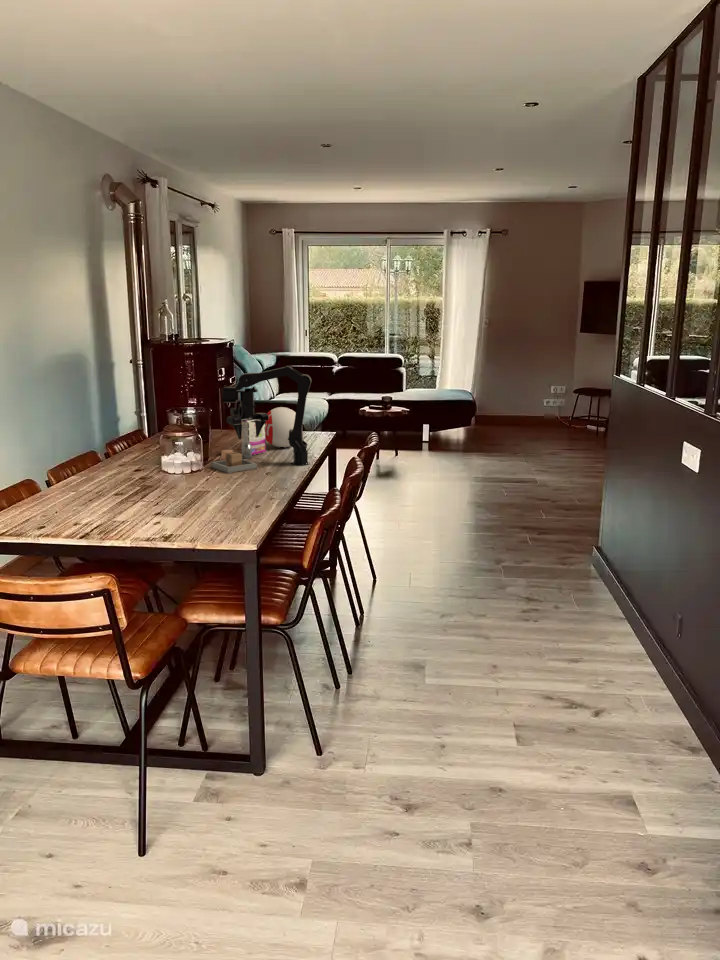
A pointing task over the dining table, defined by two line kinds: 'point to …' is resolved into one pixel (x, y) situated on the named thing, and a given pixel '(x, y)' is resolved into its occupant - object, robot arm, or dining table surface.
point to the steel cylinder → (246, 451)
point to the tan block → (225, 453)
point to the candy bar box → (253, 437)
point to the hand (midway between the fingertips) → (248, 437)
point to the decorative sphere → (279, 426)
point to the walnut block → (233, 459)
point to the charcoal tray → (245, 466)
